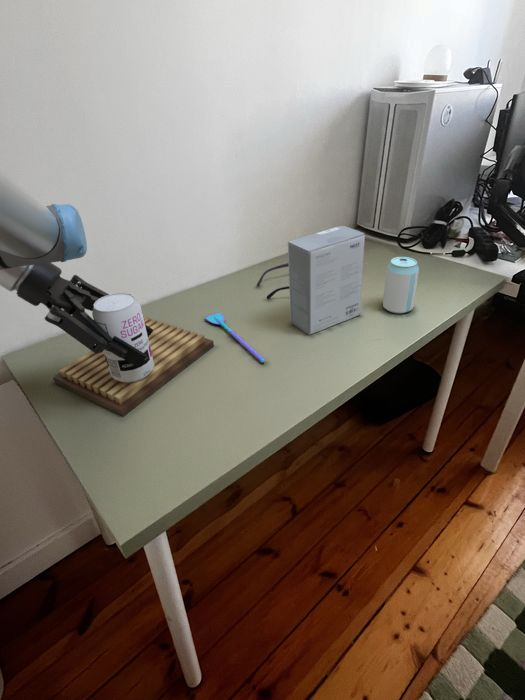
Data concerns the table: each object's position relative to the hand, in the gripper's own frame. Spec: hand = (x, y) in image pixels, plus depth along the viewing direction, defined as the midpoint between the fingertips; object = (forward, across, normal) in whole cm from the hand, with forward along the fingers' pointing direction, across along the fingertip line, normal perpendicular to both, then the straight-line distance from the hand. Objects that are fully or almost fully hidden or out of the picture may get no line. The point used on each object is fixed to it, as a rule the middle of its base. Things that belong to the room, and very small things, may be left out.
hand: (146, 347), depth 80 cm
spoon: (+17, -14, +6) cm, 23 cm away
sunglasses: (+29, -37, +17) cm, 50 cm away
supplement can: (+1, 0, -6) cm, 6 cm away
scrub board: (+3, -7, -9) cm, 12 cm away
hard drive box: (+33, -18, +21) cm, 43 cm away
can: (+46, -21, +34) cm, 60 cm away
